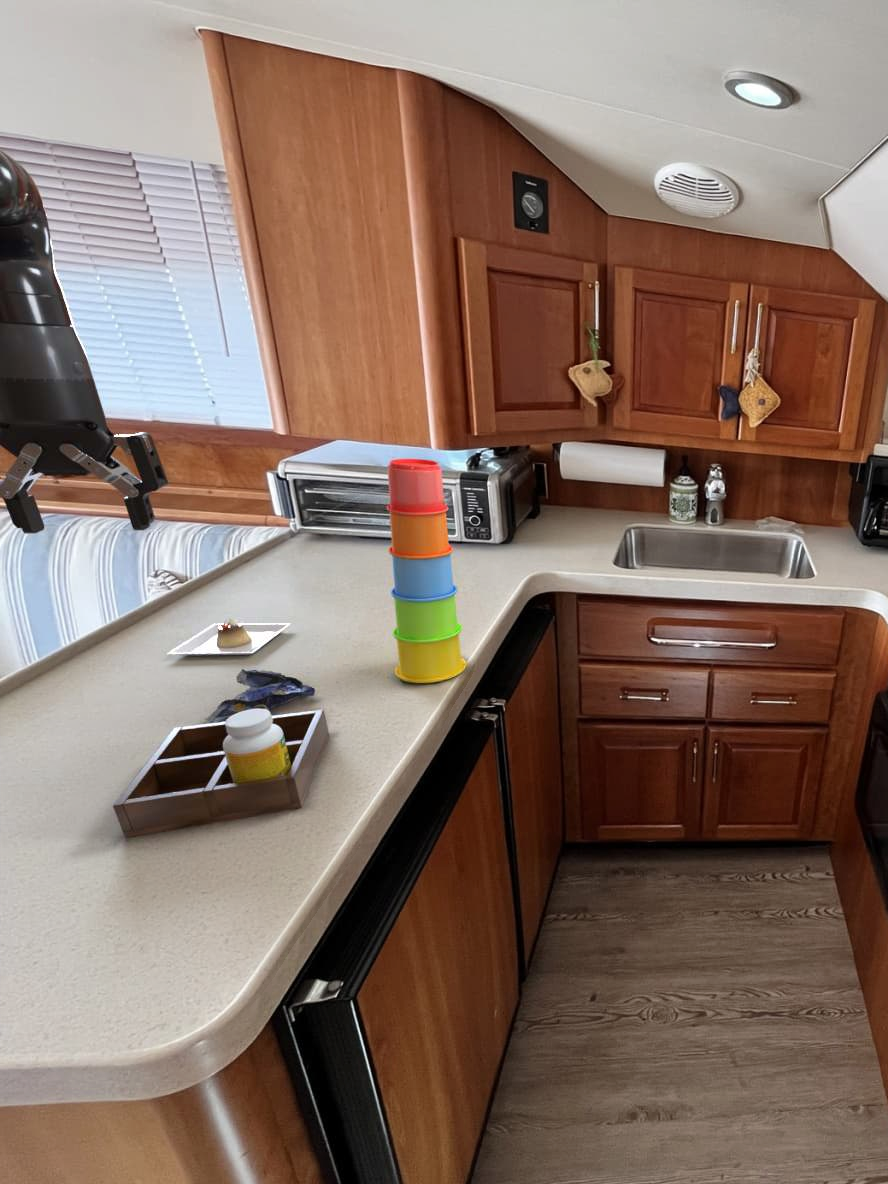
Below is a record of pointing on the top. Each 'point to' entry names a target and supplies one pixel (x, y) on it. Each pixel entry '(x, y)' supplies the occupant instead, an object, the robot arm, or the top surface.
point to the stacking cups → (422, 574)
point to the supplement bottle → (255, 746)
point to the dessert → (230, 639)
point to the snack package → (262, 692)
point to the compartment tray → (217, 778)
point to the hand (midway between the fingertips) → (89, 530)
